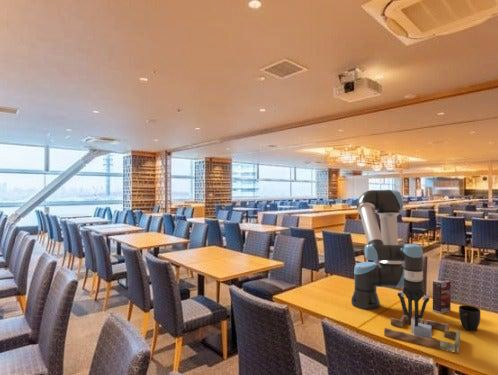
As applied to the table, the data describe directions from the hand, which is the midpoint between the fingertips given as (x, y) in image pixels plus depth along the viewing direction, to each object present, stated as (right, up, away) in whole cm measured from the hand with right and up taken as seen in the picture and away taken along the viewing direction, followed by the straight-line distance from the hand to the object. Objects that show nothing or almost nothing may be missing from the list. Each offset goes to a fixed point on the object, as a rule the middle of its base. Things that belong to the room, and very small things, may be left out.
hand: (413, 332), depth 143 cm
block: (+3, -2, -2) cm, 4 cm away
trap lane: (+5, -2, +1) cm, 5 cm away
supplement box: (+29, -1, +27) cm, 40 cm away
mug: (+28, -2, +5) cm, 28 cm away
